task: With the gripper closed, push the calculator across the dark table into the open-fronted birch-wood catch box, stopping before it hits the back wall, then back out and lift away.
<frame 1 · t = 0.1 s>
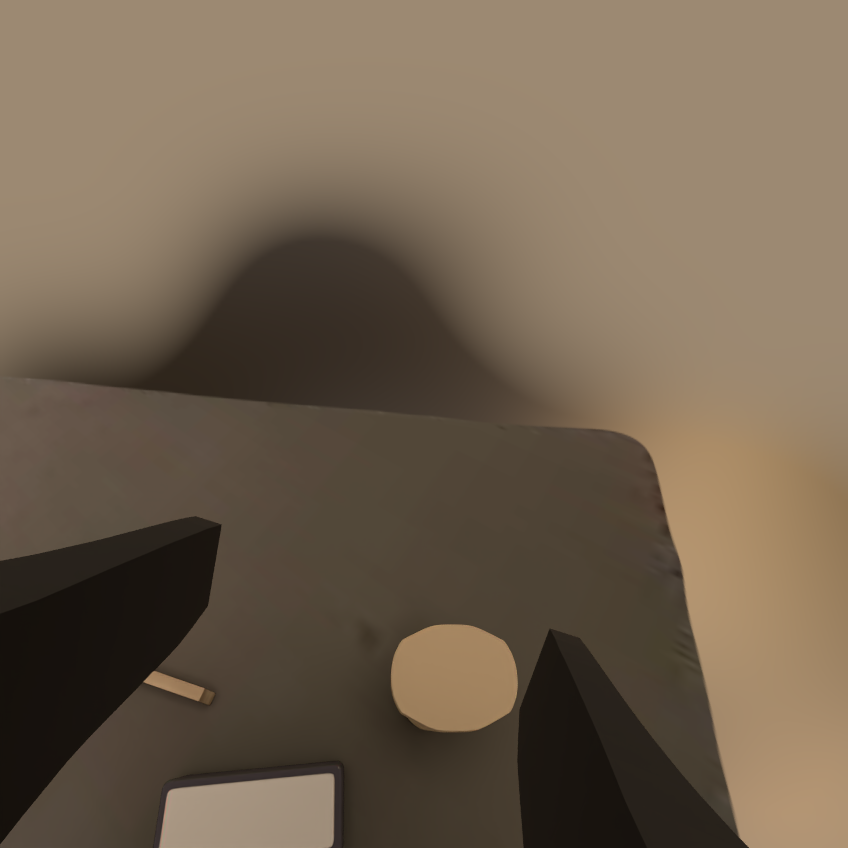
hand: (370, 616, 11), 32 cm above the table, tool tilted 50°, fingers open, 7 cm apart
catch box: (29, 835, 32), on the table
handle: (425, 704, 38), on the table
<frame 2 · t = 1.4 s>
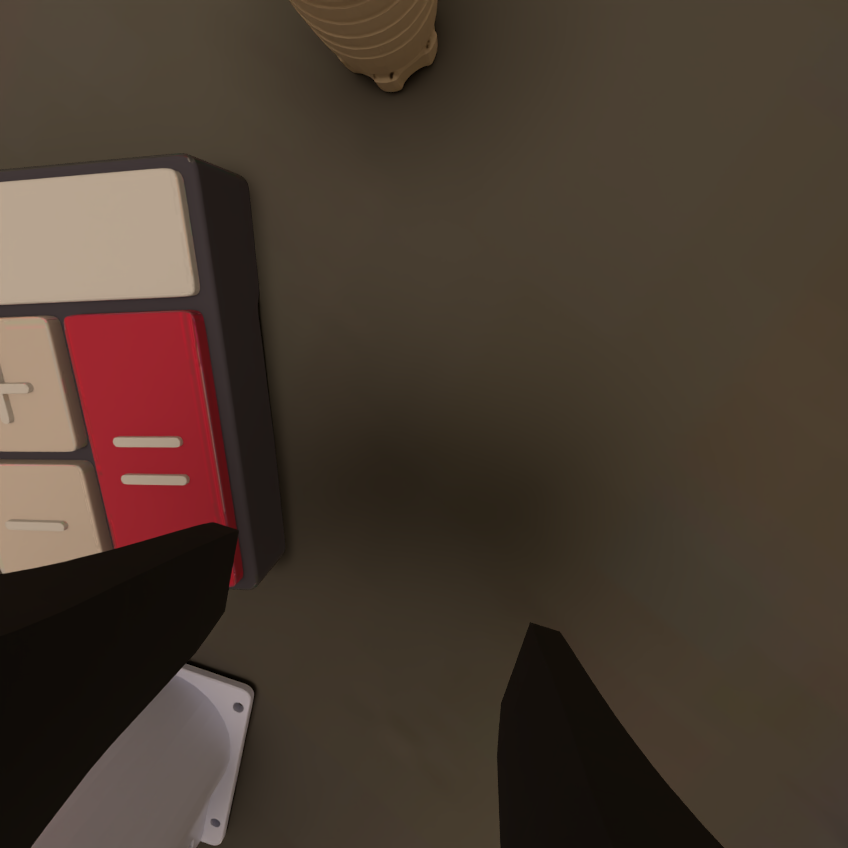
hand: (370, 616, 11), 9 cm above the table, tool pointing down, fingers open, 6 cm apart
handle: (393, 44, 17), on the table
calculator: (151, 382, 21), on the table
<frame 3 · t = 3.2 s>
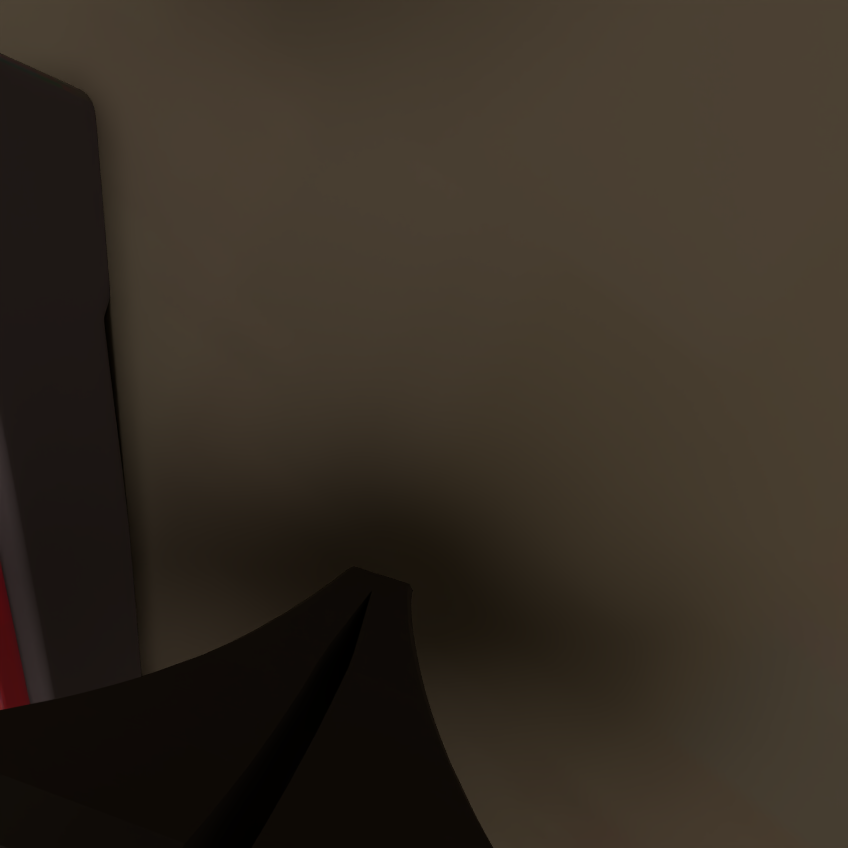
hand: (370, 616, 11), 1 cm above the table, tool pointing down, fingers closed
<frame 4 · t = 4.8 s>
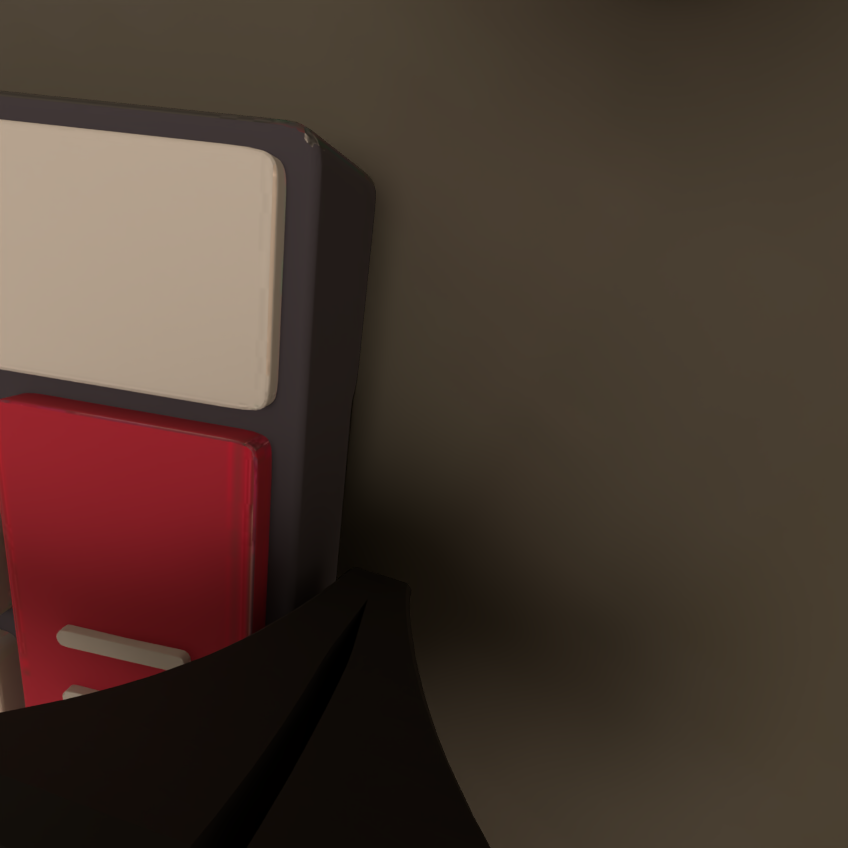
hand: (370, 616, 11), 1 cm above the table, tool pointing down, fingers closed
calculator: (143, 473, 13), on the table, touching gripper
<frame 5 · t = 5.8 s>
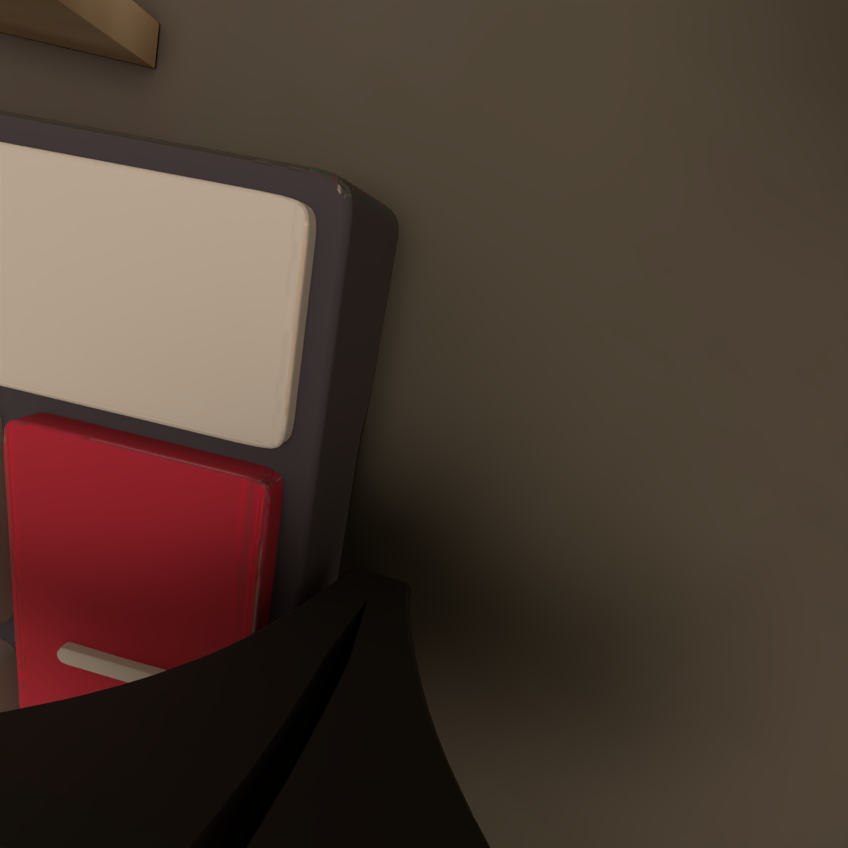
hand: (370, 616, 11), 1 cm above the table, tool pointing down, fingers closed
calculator: (147, 483, 13), on the table, touching gripper
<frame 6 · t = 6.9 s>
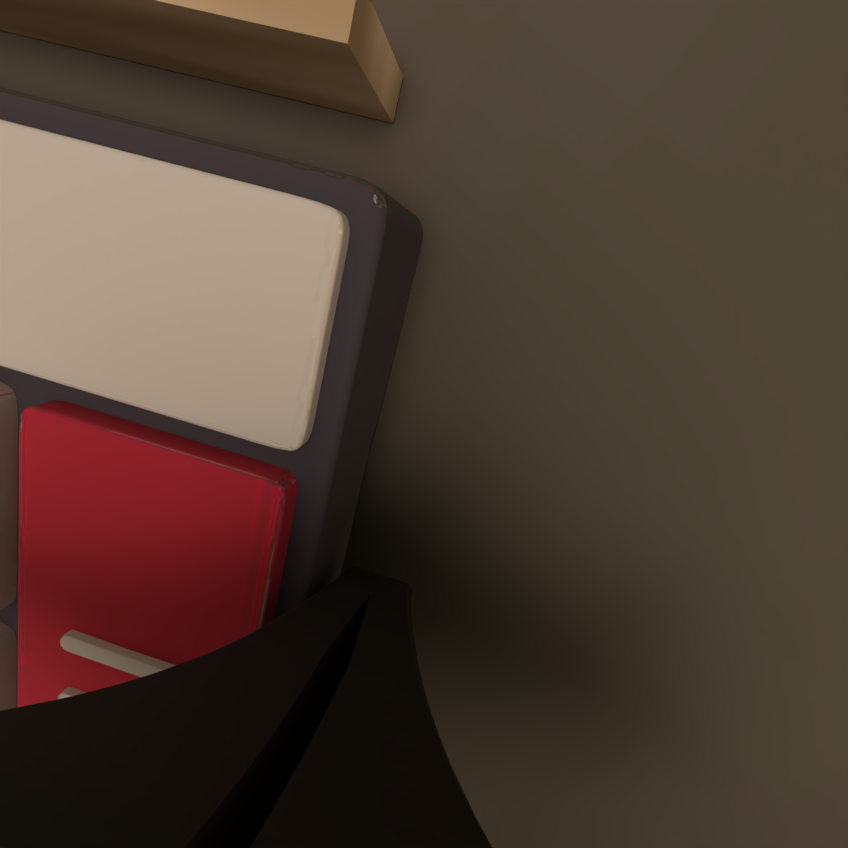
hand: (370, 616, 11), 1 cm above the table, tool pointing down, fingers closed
catch box: (38, 471, 13), on the table
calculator: (153, 473, 13), on the table, touching gripper
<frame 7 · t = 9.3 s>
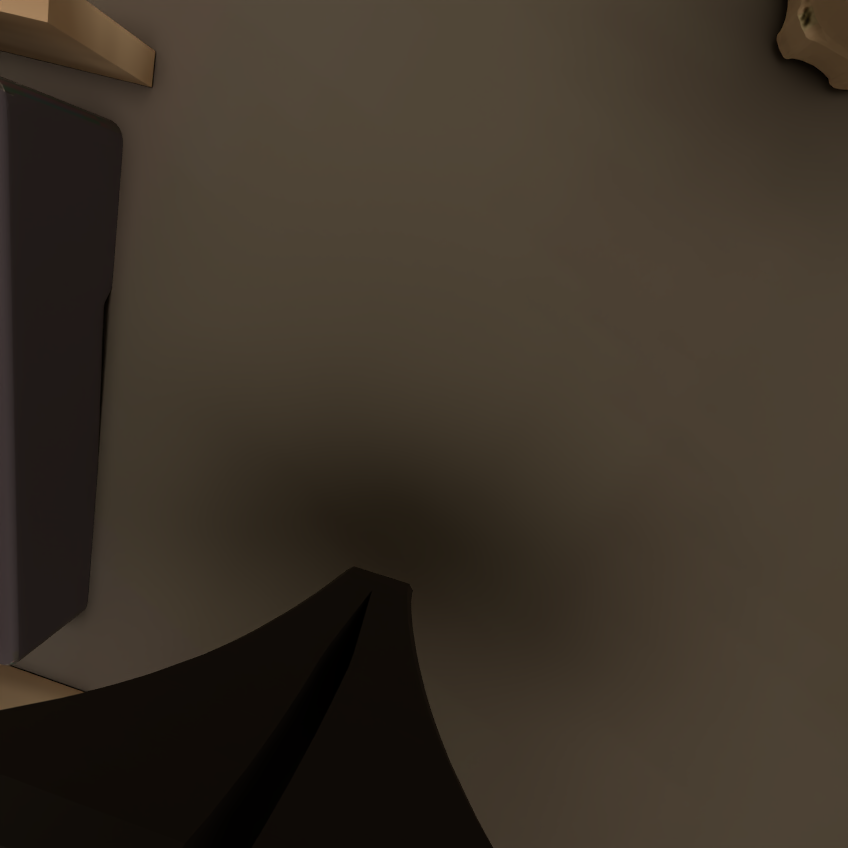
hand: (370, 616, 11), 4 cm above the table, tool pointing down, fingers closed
handle: (847, 12, 10), on the table
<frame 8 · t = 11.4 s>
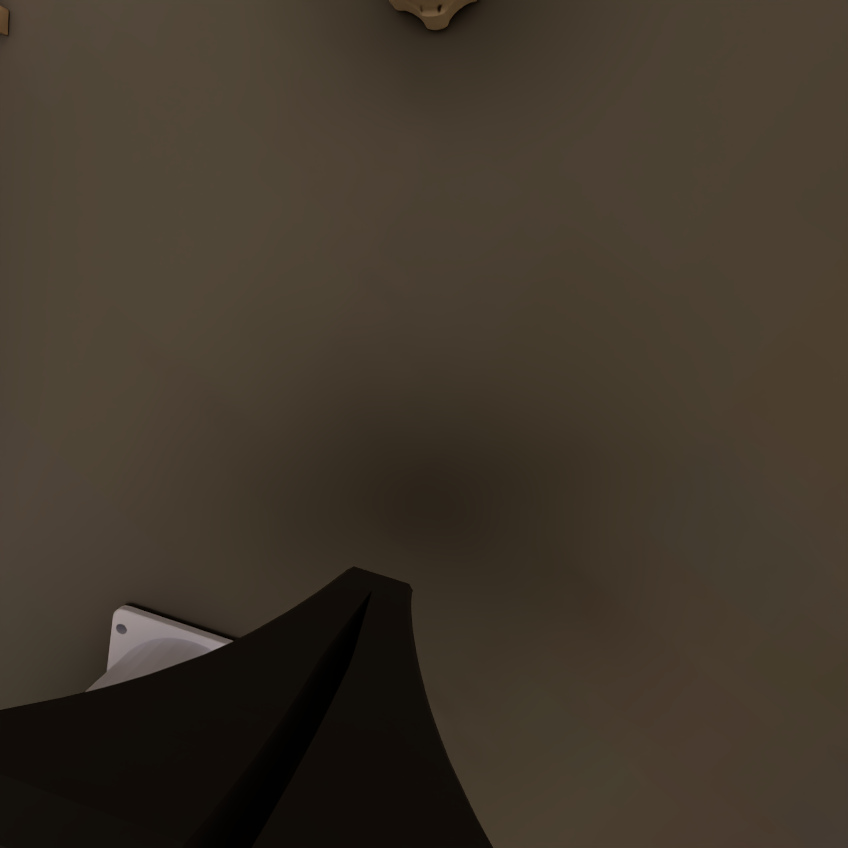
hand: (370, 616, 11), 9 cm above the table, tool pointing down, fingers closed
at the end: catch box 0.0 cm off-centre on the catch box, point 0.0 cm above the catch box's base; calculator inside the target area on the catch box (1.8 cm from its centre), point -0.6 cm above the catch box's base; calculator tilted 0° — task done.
